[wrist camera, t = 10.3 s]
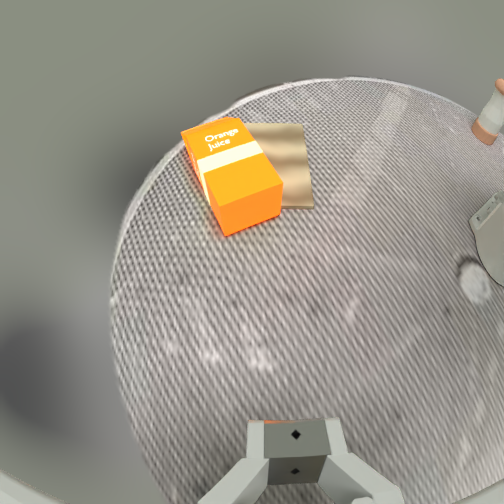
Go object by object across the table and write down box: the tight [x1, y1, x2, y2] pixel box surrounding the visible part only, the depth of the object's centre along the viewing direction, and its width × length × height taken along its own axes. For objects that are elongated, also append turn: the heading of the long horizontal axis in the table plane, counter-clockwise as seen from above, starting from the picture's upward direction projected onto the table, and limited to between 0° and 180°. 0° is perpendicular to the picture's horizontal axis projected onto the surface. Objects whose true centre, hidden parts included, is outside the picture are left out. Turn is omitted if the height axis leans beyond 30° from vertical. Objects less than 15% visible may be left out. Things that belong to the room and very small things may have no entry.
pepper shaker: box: [472, 79, 504, 145], centre depth 49 cm, size 7×7×19 cm
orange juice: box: [181, 117, 283, 236], centre depth 45 cm, size 8×9×20 cm
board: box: [243, 123, 314, 209], centre depth 50 cm, size 20×14×1 cm
